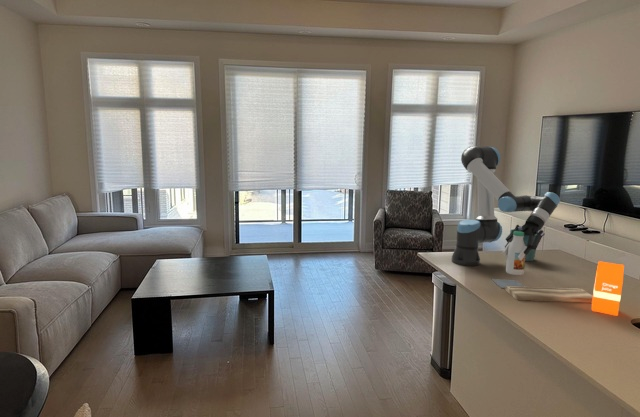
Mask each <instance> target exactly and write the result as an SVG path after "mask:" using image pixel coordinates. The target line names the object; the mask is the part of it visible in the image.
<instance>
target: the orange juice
mask: <svg viewBox="0 0 640 417" xmlns="http://www.w3.org/2000/svg"><path fill="white" fill-rule="evenodd" d="M624 271H625V264H621V263H620V264H619V263H614V262H606V261H601V260H600V261H598V263H597V268H596V272H595V279H594V285H593V293H592V295H593V298H592V303H591V311H592V312H595V313H596V312H598V313H602V314H605V315H611V316H619V310H620V309H619V308H620V302H621V297H622V292H623V291H622V290H623V289H622V288H623V283H624V273H625V272H624Z"/></svg>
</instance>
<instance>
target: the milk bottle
mask: <svg viewBox="0 0 640 417" xmlns="http://www.w3.org/2000/svg"><path fill="white" fill-rule="evenodd" d="M513 236H514V237H513V240H512V242H511V243H510V245H509V248H508V254H507V255H506V256H507V257H506V262H505V263H506V264H505V272H506V273H507V274H509V275H513V276H523V275H524V273H525V264H526V261H525V256H526V255H525V256H524V258H523V259H522V260H519V258H518V255H519V254H520V253H521V251H522V250H523V248H524V247H525V244H524V241H523V237H524V232H521V231H514V232H513Z"/></svg>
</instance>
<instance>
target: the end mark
mask: <svg viewBox="0 0 640 417" xmlns="http://www.w3.org/2000/svg"><path fill="white" fill-rule="evenodd" d="M491 281H492V282H493V283H494V284H496V285H497V286H498V287H499V288H500V289H504V290H505V288H506V286H524V287H526V286H525V285H523V284H522V283H520V281H518V280H517V279H500V278H499V279H498V278H497V279H496V278H495V279H494V278H491Z"/></svg>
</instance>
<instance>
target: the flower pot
mask: <svg viewBox="0 0 640 417" xmlns="http://www.w3.org/2000/svg"><path fill="white" fill-rule="evenodd" d="M514 229H515V228H514ZM514 229H510V230H509V232H510V233H511V232H512V231H513V230H514ZM537 234H538V233H537ZM537 234H535V237H534V239H533V242H534V240H535V238H536V236H537ZM528 239H529V236H528V235H525V236H524V237H523V241H524V244H525V246H527V244H528ZM536 252H537V249H536V250H534V249H531V250H530V251H529V253H528V254H527V255H526V256H525V262H533V261H534V260H535V257H536Z"/></svg>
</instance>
